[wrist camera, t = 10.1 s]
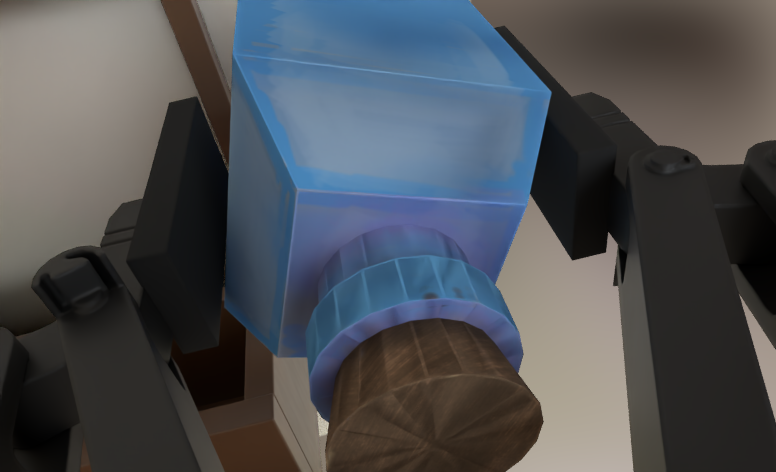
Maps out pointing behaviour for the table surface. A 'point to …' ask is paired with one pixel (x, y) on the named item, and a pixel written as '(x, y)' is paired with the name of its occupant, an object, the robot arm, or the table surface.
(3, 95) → the table surface
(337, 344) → the perfume bottle
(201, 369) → the desk rack
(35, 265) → the table surface
